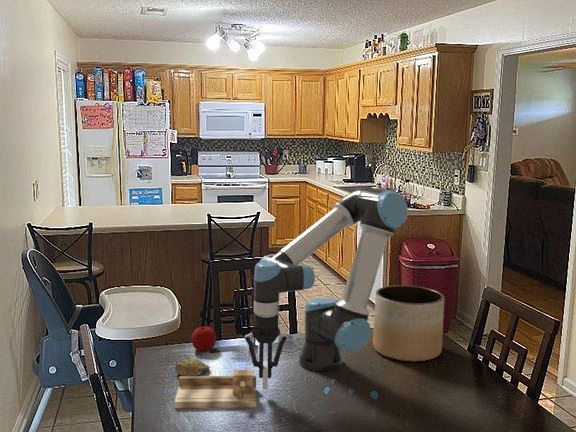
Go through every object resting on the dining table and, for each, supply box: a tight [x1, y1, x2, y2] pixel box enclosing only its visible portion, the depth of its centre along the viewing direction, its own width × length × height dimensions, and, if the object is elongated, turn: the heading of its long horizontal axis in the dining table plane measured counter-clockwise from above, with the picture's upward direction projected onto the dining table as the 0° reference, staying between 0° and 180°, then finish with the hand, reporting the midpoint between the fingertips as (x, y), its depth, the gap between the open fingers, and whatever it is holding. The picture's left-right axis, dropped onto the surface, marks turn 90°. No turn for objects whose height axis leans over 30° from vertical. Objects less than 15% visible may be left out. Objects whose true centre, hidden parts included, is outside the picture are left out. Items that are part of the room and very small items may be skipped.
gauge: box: [232, 369, 254, 396], centre depth 175 cm, size 6×8×6 cm
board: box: [174, 375, 257, 409], centre depth 176 cm, size 24×12×4 cm, turn 94°
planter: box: [372, 284, 445, 363], centre depth 216 cm, size 25×25×22 cm
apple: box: [191, 324, 217, 353], centre depth 214 cm, size 9×9×10 cm
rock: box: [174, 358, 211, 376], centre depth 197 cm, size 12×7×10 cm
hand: (265, 387), depth 178 cm, fingers closed
